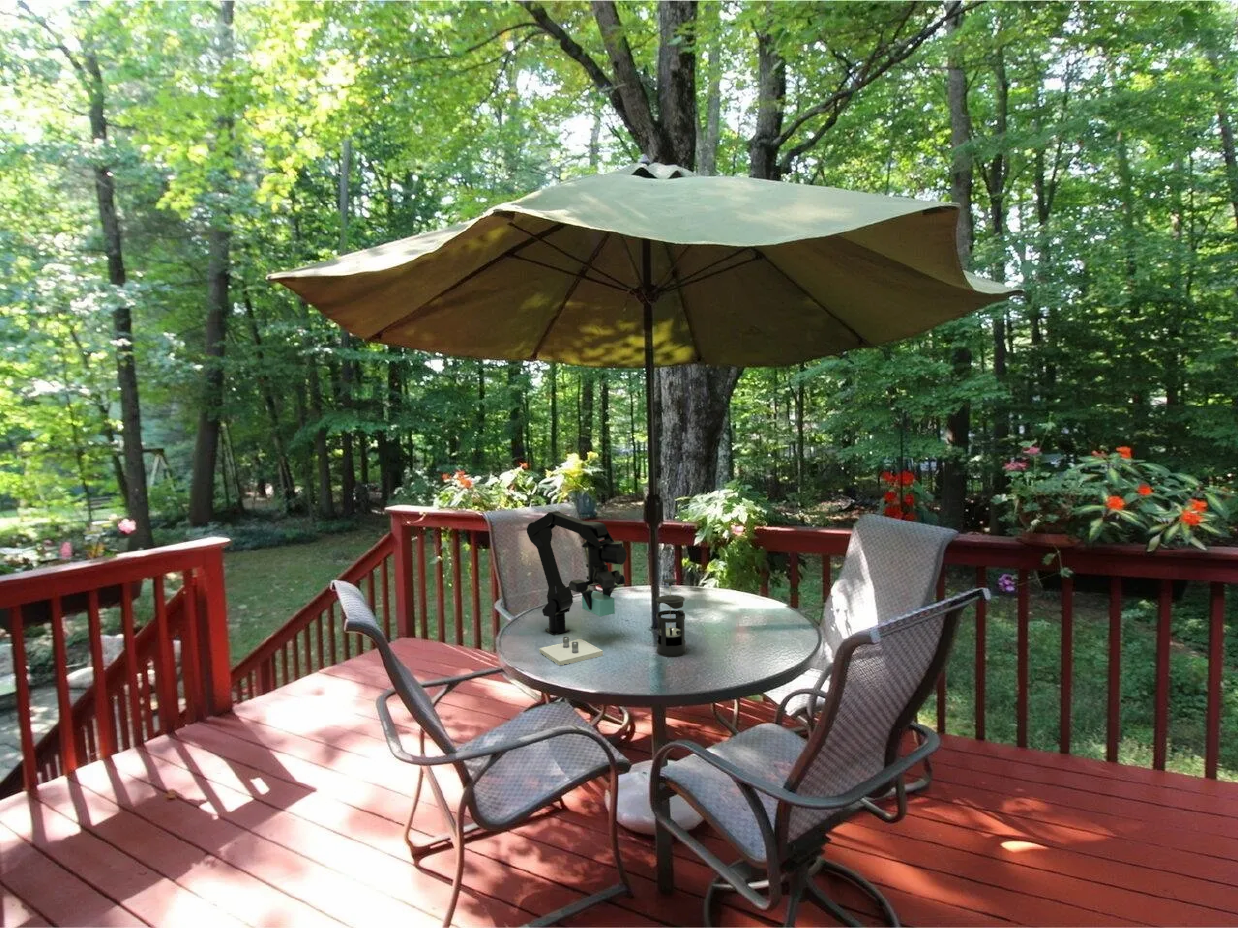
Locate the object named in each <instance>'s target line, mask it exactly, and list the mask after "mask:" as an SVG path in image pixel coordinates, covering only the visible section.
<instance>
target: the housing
mask: <svg viewBox="0 0 1238 928" xmlns="http://www.w3.org/2000/svg"><path fill="white" fill-rule="evenodd" d="M591 597H592V610H590V609H589V608H588V605H587V603H586V601H585V599H584V597H583V595H582V594H581V603H582V606H581V607H582V610H585V611H587V612H590V613H592V614H593V615H595V616H598V617H604V616H605V617H606V616H609V615H614V614H616V613H615V612H616V608H615V607H616V606H615V598H614V597H612V596H607V595H605V594H603V592H599V591H597V590H596V591H595V590H594V591H593V592H592V594H591Z"/></svg>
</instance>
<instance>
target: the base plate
mask: <svg viewBox="0 0 1238 928" xmlns="http://www.w3.org/2000/svg"><path fill="white" fill-rule="evenodd" d="M572 642H578V650H579V652H578V653H572ZM540 653H542V654H543V655H545V656H546V657H548V658H549V659H548V658H547V659H548V660H550V659H551V660H552V661H551V660H550V661H551V662H553V661H554V662H555V663H554V662H553V663H554V664H556V663H557V664H558V665H557V664H556V665H557V666H559V665H563V666H565V665H564V664H567V665H570V664H569V663H571V664H574V663H578V661H579V662H583V661H587V660H591V659H594V658H595V659H596V658H597V657H603V656H604V651H603V650H602V649H600V648H599V647H596V646H595V645H593V644H591V643H590V642H587V641H586V640H584V639H582V638H577V639H575V640H569V648H563V642H561V643H558V644H557V643H556V644H552V645H548V646H544V647H543V646H542V647H540V648H539V654H540ZM542 654H541V655H542ZM543 655H542V656H543ZM545 656H544V657H545ZM546 657H545V658H546Z"/></svg>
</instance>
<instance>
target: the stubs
mask: <svg viewBox="0 0 1238 928" xmlns="http://www.w3.org/2000/svg"><path fill="white" fill-rule="evenodd" d="M569 641H570V637H569V636H563V637H562V643H563V648H569ZM578 652H579V650H578V642H572V653H578Z"/></svg>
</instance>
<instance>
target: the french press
mask: <svg viewBox="0 0 1238 928" xmlns="http://www.w3.org/2000/svg"><path fill="white" fill-rule="evenodd" d="M662 581H663V582H664V583H668V587H669V589H668V590H669V595H667V594H666V595H665V594H664V595H660V596H656V598H655V601H656V602H657V603H656V604H657V607H659V606H660V605H661V604H664V605H667V606H668V607H669V609H668V610H667V609H666V610H661V611H658V612H657V613H656V615H655V617H656V621H657V640H656V654H657V655H658V656H661V657H666V658H677V657H681V656H684V655H686V653H687V651H688V649H687V648H686V647H687V645H686V643H687V642H686V637H685V636H686V635H685V632H686V631H685V620H686V613H685V611H684V610H681V608H683V607H684V602H685V597H684V596H681V595H674V594H672V588H671V587H672V583H676V582H677V579H675V578H664V579H663V580H662ZM664 615H665V616H666V615H669V618H666V617H662V616H664ZM672 615H675V617H673V618H672ZM668 623H669V625H670V627H667V624H668ZM672 623H673V624H674V623H675V627H672Z"/></svg>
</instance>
